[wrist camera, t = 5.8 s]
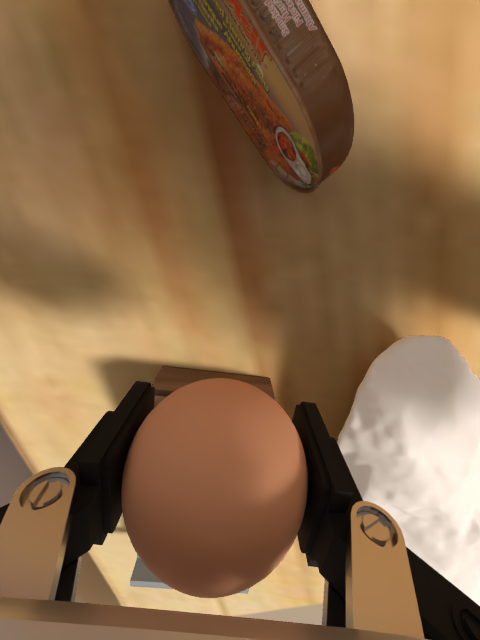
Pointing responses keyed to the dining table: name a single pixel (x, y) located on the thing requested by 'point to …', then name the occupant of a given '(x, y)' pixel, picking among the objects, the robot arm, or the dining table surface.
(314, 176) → the tin
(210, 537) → the ball
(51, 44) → the dining table surface
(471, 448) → the white flat lumpy piece
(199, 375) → the ramp
